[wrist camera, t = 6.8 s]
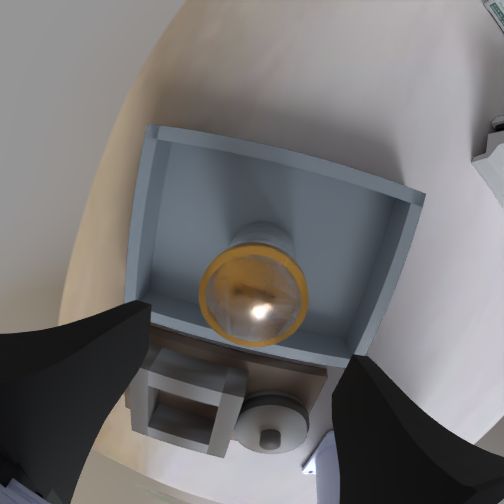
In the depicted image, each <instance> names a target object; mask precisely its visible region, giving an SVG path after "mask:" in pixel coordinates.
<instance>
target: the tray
mask: <svg viewBox="0 0 504 504" xmlns="http://www.w3.org/2000/svg"><path fill="white" fill-rule="evenodd" d="M425 196H426V194H425V193H422V192H420V191H417V190H415V189H412V188H409V187H407V186H404V185H401V184H398V183H396V182H393V181H390V180H387V179H384V178H381V177H379V176H376V175H373V174H370V173H367V172H363V171H360V170H357V169H354V168H351V167H348V166H344V165H341V164H338V163H334V162H331V161H327V160H324V159H320V158H317V157H313V156H310V155H306V154H302V153H298V152H294V151H290V150H286V149H282V148H278V147H274V146H270V145H266V144H261V143H257V142H252V141H247V140H243V139H238V138H233V137H228V136H223V135H217V134H212V133H206V132H200V131H194V130H188V129H182V128H175V127H168V126H161V125H153V124H147V127H146V132H145V137H144V142H143V147H142V152H141V157H140V163H139V168H138V174H137V180H136V187H135V193H134V200H133V207H132V215H131V223H130V232H129V242H128V252H127V265H126V279H125V298H124V304H125V303H128V302H131V301H134V300H139V301H142V302H145V303H148V304H151V305H152V309H151V321H150V322H153V323H156V324H159V325H162V326H166V327H169V328H172V329H175V330H179V331H182V332H186V333H189V334H192V335H196V336H199V337H203V338H207V339H210V340H214V341H218V342H222V343H225V344H229V345H233V346H237V347H241V348H245V349H250V350H254V351H258V352H263V353H267V354H271V355H276V356H281V357H285V358H290V359H295V360H300V361H305V362H311V363H316V364H322V365H327V366H333V367H339V368H345V369H346V367H347V365H348V363H349V361H350V359H351V356H352V354H356V355H362V356H365V355H366V353H367V351H368V348H369V346H370V344H371V342H372V340H373V338H374V336H375V334H376V331H377V329H378V327H379V325H380V323H381V320H382V318H383V316H384V313H385V311H386V309H387V306H388V304H389V302H390V299H391V297H392V294H393V292H394V289H395V287H396V284H397V282H398V279H399V276H400V274H401V271H402V268H403V266H404V263H405V260H406V257H407V254H408V251H409V249H410V246H411V243H412V240H413V236H414V233H415V230H416V227H417V224H418V220H419V217H420V214H421V210H422V207H423V203H424V200H425ZM258 221H267V222H272V223H275V224H277V225H279V226H280V227H282V228H283V229H284V230H285V231H286V232H287V233H288V234H289V236H290V237H291V239H292V241H293V244H294V249H295V255H296V262H297V263H298V265H299V266H300V268H301V269H302V271H303V274H304V276H305V279H306V283H307V288H308V294H309V304H308V310H307V313H306V316H305V318H304V320H303V322H302V323H301V325H300V326H299V328H298V329H297V330H296V331H295V332H294V333H293V334H292V335H291V336H289V337H288V338H286V339H285V340H283V341H281V342H279V343H276V344H273V345H269V346H264V347H247V346H242V345H238V344H235V343H233V342H230V341H228V340H226V339H225V338H223V337H221V336H220V335H219V334H217V333H216V332H215V331H214V330H213V329H212V328H211V327H210V325H209V324H208V323H207V321H206V320H205V318H204V316H203V314H202V312H201V309H200V305H199V296H198V292H199V285H200V282H201V279H202V277H203V274H204V273H205V271H206V269H207V268H208V266H209V265H210V263H211V262H212V261H213V260H214V259H215V257H216V256H218V255H219V254H220V253H221V252H223V251H224V250H226V249H227V248H228V247H229V246H230V244H231V242H232V241H233V239H234V237H235V236H236V234H237V233H238V232H239V231H240V230H241V229H242V228H243V227H245V226H246V225H248V224H250V223H253V222H258Z"/></svg>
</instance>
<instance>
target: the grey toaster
mask: <svg viewBox="0 0 504 504" xmlns="http://www.w3.org/2000/svg"><path fill="white" fill-rule="evenodd" d="M491 124H492V126H493V127H494V128H495V130H496V131H497V132H494V133H491V134H488V139H487V148H486V153H484V154H481V155H478V156H475V157H473V159H472V161H471V164H472V165H473V166H474V167H475V169H476V170H477V171H478V173H479V174H480V175H481V177H482V178H483V179H484V181H485V182H486V184H487V185H488V187H489V188H490V189H491V191H492V192H493V194H494V195H495V197H496V198H497V200H498V201H499V203H500V204H501V206H502V207H503V209H504V115H502V116H498V117H496V118H495V119H494V120H493V121H492V123H491Z"/></svg>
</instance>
